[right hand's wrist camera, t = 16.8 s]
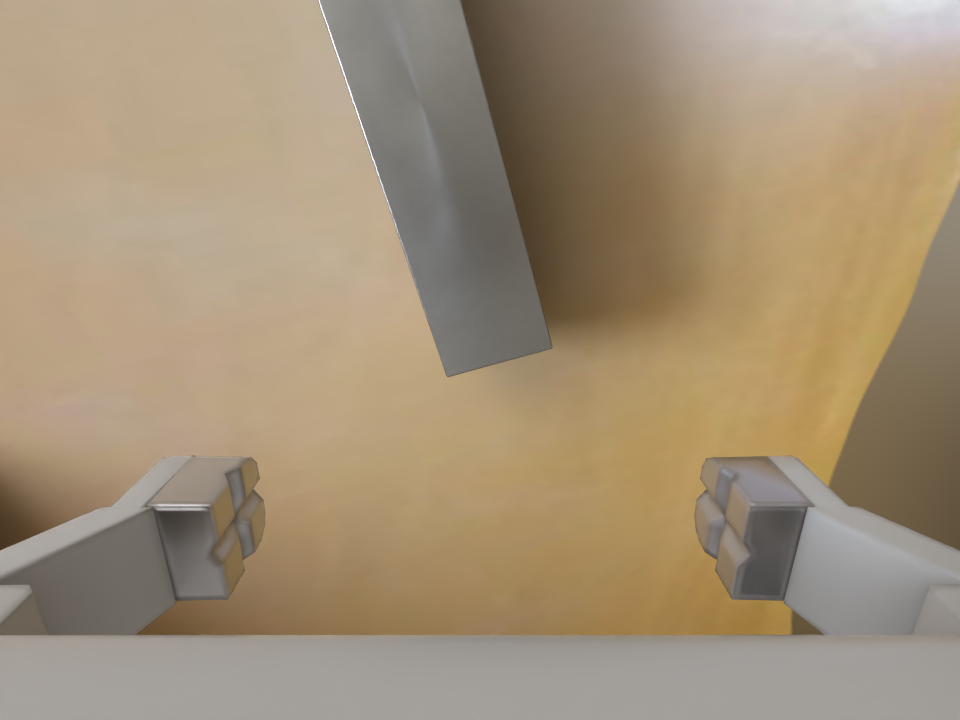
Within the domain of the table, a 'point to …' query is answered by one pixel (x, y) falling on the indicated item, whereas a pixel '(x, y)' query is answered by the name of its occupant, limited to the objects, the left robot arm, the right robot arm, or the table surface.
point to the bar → (441, 174)
